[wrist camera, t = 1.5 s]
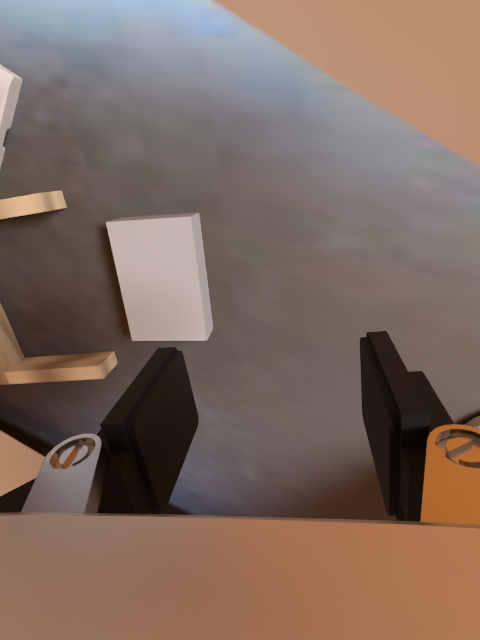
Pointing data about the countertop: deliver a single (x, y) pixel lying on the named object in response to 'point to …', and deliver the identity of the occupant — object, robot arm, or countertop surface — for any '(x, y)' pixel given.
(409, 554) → the robot arm
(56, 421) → the countertop surface
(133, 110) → the countertop surface
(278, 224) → the countertop surface
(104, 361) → the pine rack
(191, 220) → the light grey slab
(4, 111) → the external hard drive
